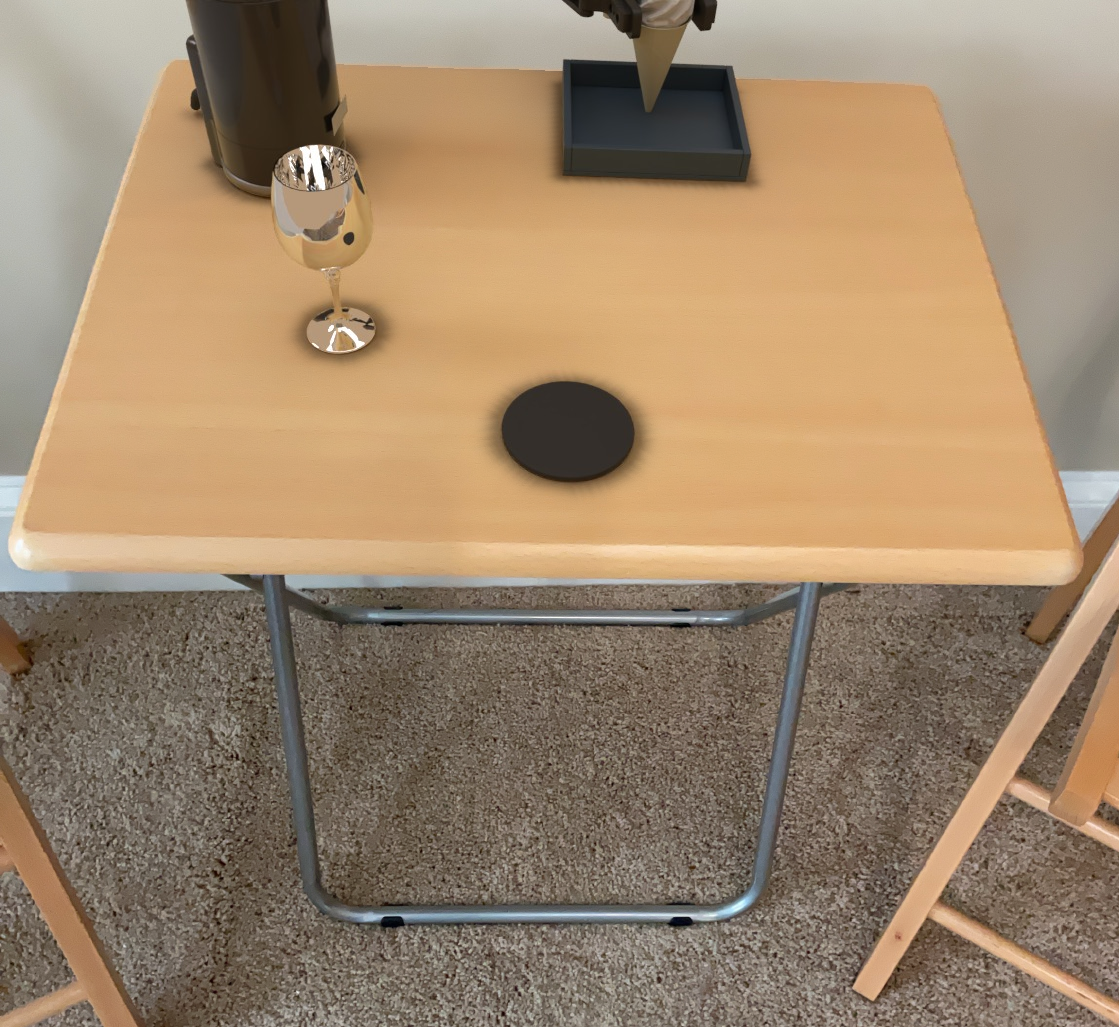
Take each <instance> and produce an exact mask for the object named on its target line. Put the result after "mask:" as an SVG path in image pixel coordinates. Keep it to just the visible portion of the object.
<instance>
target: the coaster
mask: <svg viewBox="0 0 1119 1027" xmlns="http://www.w3.org/2000/svg"><path fill="white" fill-rule="evenodd" d="M501 437H502V441H503V444H504V447H505V450H506V451H507V452H508V454H509V455H510V457H511V458H512V460H514V461H515V462H516V463H517V464H518V465H519V466H520V467H522V468H523V469H525V470H526V471H528V472H530V473H532V474H534V475H536V476H539V477H541V478H543V479H548V480H553V481H557V482H558V481H559V482H567V483H569V482H583V481H584V482H585V481H589V480H595V479H597V478H599V477H602V476H605V475H606V474H609V473H611V472H612V471H613V470H615V469H617V468H618V467H619V466H620V465H621V464H622V463H624V461H625V460H626V458H627V457H628V456H629V454H630V452H631V450H632V447H633V444H634V440H635V424H634V421H633V418H632V416H631V414H630V412H629V410H628V409H627V408H626V406H625V405H624V403H622V402H621V400H619V399H618V398H617V397H616V396H614V395H613V394H611V393H610V392H608V391H607V390H604V389H603V388H601V387H598V386H596V385H593V384H590V383H589V384H588V383H585V382H579V381H570V380H562V381H561V380H559V381H558V380H557V381H551V382H545V383H541V384H539V385H536V386H533V387H531V388H529V389H527V390H525V391H524V392H522V393H521V394H519V395H518V396H517V397H515V399H514V400H513V401H511V403H510V404H509V405H508V406H507V409H506V411H505V412H504V415H503V418H502V422H501Z"/></svg>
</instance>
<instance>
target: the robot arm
mask: <svg viewBox="0 0 1119 1027" xmlns="http://www.w3.org/2000/svg"><path fill="white" fill-rule="evenodd" d="M561 1H562V2H563V3H564V4H565V5H567V6H568V8H570V9H571V10H572V11H574V12H575V13H576V14H577V15H578V16H580V17H582V18H592V17H593V16H594V15H595V12H598V13H602V16H603V17H604V18H605V19H608V20H610V21H611V22H612V24H613V25H614V27H615V28H616V29H617V31H618V32H620V33H622V34H625V35H626V36H627V38H628V39H629V40H633V39H635V38H640V34H641V25H642V10H641V8H640V6H639V5H638V4H637V2H636V1H635V0H561ZM185 4H186V5H185V6H186V8H187V13H188V18H189V21H190V26H191V30H192V34H190V35H189V36H188V37H187V39H186V41H185V48H186V53H187V57H188V60H189V65H190V68H191V73H192V77H193V82H194V85H195V86H194V87H195V88H193V90H192V91H191V93H190V104H189V106H190V108H191V110H193V111H199V110H200V109H201V114H202V118H203V123H204V126H205V129H206V130H205V131H206V136H207V139H208V142H209V148H210V151H211V155H212V159H213V163H214V164H216V165H219V166H221V167H222V169H223V172H224V175H225V177H226V178H227V180H228V181H229V182H230V183H231V184H232V185H234V187H237V188H238V189H240V190H242V191H244V192H246V193H248V194H249V193H250V194H252V195H257V196H261V197H267V198H271V186H272V174H273V167H274V164H275V162H276V161H277V160H278V158H279V157H281V156H282V155H283V154H285V153H286V152H288V151H290V150H292V149H295V148H298V147H302V146H308V145H328V146H333V147H337V148H340V149H342V150H345V151H347V152H348V153H349V146H348V143H347V140H346V134H345V133H346V132H345V125H344V119H345V118H346V115H347V114H348V111H349V110H348V101H347V96H346V95H347V94H344V96H343V98H342V99H341V93H340V85H339V77H338V70H337V62H336V54H335V47H334V39H333V38H334V37H333V31H332V23H331V15H330V8H329V0H185ZM717 9H718V0H695V1H694V8H693V13H692V19H691V21H692V22H693V24H694V25H695V27H696V28H697V29H698V30H699V32H706V31H711V29H712V26H713V24H715V23H716V22H715V21H716V15H717V11H718V10H717Z"/></svg>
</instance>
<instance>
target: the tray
mask: <svg viewBox="0 0 1119 1027" xmlns="http://www.w3.org/2000/svg"><path fill="white" fill-rule="evenodd" d="M561 71H562V72H561V74H562V75H561V139H562V141H561V142H562V144H561V146H562V176H573V177H575V176H576V177H603V178H605V177H606V178H631V179H632V178H633V179H634V178H636V179H660V180H661V179H662V180H687V181H689V180H690V181H691V180H692V181H719V182H743V183H744V182H747V177H748V174H749V173H748V172H749V168H750V164H751V160H752V150H751V145H750V140H749V137H748V136H749V135H748V131H747V126H746V122H745V118H744V113H743V107H742V104H741V103H742V102H741V99H740V95H739V94H740V93H739V90H738V85H737V81H736V75H735V71H734V65H725V64H724V65H723V64H701V63H699V64H698V63H677V62H676V63H673V62H672V63H671V65H670V68H669V70H668V73H667V75H666V78H665V80H664V82H663V85H662V87H661V90H660V92H659V94H658V97H657V99H656V101H655V104H654V106H653V109H652V111H651V112H650V113H648V112H646V111H645V106H644V100H643V95H642V89H641V83H640V78H639V72H638V67H637V61H626V60H625V61H624V60H623V61H622V60H621V61H620V60H600V59H599V60H598V59H597V60H596V59H574V58H572V59H569V58H568V59H567V58H563V59H562V70H561Z"/></svg>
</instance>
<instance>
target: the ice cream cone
mask: <svg viewBox="0 0 1119 1027" xmlns="http://www.w3.org/2000/svg"><path fill="white" fill-rule="evenodd" d="M635 1H636V2H637V4H638V5H639V6H640V8H641V10H642V25H641V34H640V38H635V39H632V44H633V50H634V55H635V60H636V61H635V62H637V67H638V72H639V78H640V83H641V89H642V95H643V100H644V106H645V111H646V112H648V113H650V112H651V111H652V109H653V106H654V104H655V101H656V99H657V97H658V94H659V92H660V90H661V87H662V85H663V82H664V80H665V78H666V75H667V73H668V70H669V68H670V65H671V63H673V61H674V58H675V56H676V53H677V51H678V49H679V46H680V44H681V41H682V39H683V37H684V34H685V32H686V30H687V27H688V25H689V23H690V22H691V21H692V20H691V19H692V13H693V8H694V1H695V0H635Z"/></svg>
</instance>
